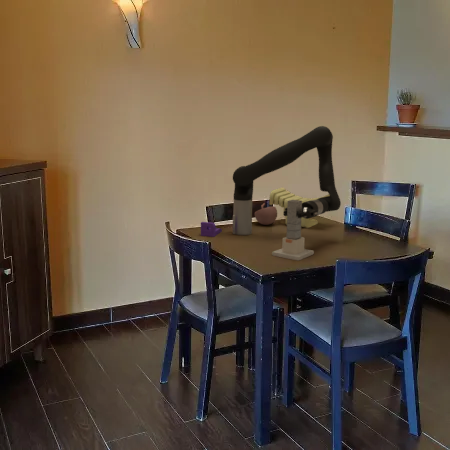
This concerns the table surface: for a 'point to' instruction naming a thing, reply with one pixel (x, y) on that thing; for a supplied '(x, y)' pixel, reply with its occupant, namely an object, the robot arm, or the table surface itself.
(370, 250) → the table surface
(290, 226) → the column
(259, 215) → the mortar and pestle
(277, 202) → the slatted curved stool
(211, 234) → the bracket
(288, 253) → the stand
